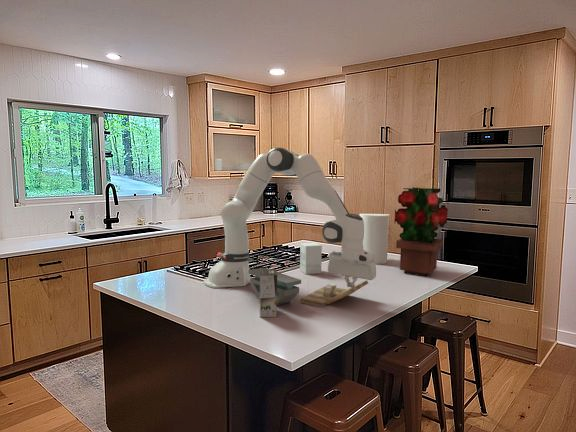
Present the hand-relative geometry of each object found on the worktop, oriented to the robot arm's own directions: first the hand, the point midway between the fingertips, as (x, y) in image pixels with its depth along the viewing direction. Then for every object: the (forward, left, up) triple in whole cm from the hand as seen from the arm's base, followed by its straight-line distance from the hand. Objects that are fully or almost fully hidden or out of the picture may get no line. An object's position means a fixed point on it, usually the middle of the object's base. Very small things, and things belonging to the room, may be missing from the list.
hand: (350, 286), depth 182 cm
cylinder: (+60, +58, -7) cm, 83 cm away
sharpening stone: (-27, +16, -7) cm, 33 cm away
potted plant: (+65, +26, -7) cm, 70 cm away
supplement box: (+12, +50, -7) cm, 52 cm away
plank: (0, +1, -3) cm, 3 cm away
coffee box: (-36, +3, -7) cm, 37 cm away
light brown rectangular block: (-6, +10, -7) cm, 14 cm away
